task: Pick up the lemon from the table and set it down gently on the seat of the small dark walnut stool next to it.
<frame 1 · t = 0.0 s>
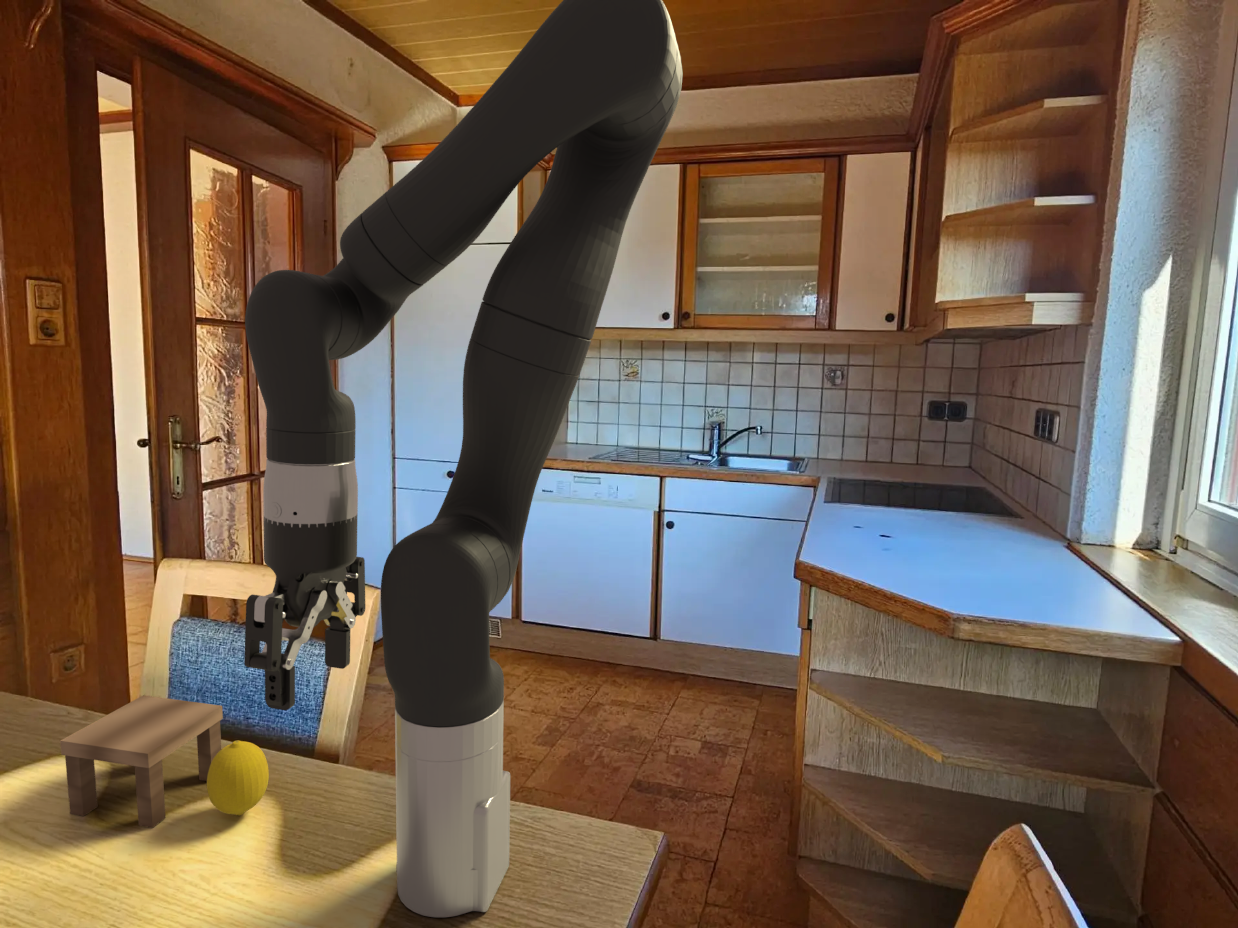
hand: (311, 685, 65), 17 cm above the table, tool pointing down, fingers open, 8 cm apart
lemon: (240, 816, 74), on the table
stool: (150, 792, 77), on the table
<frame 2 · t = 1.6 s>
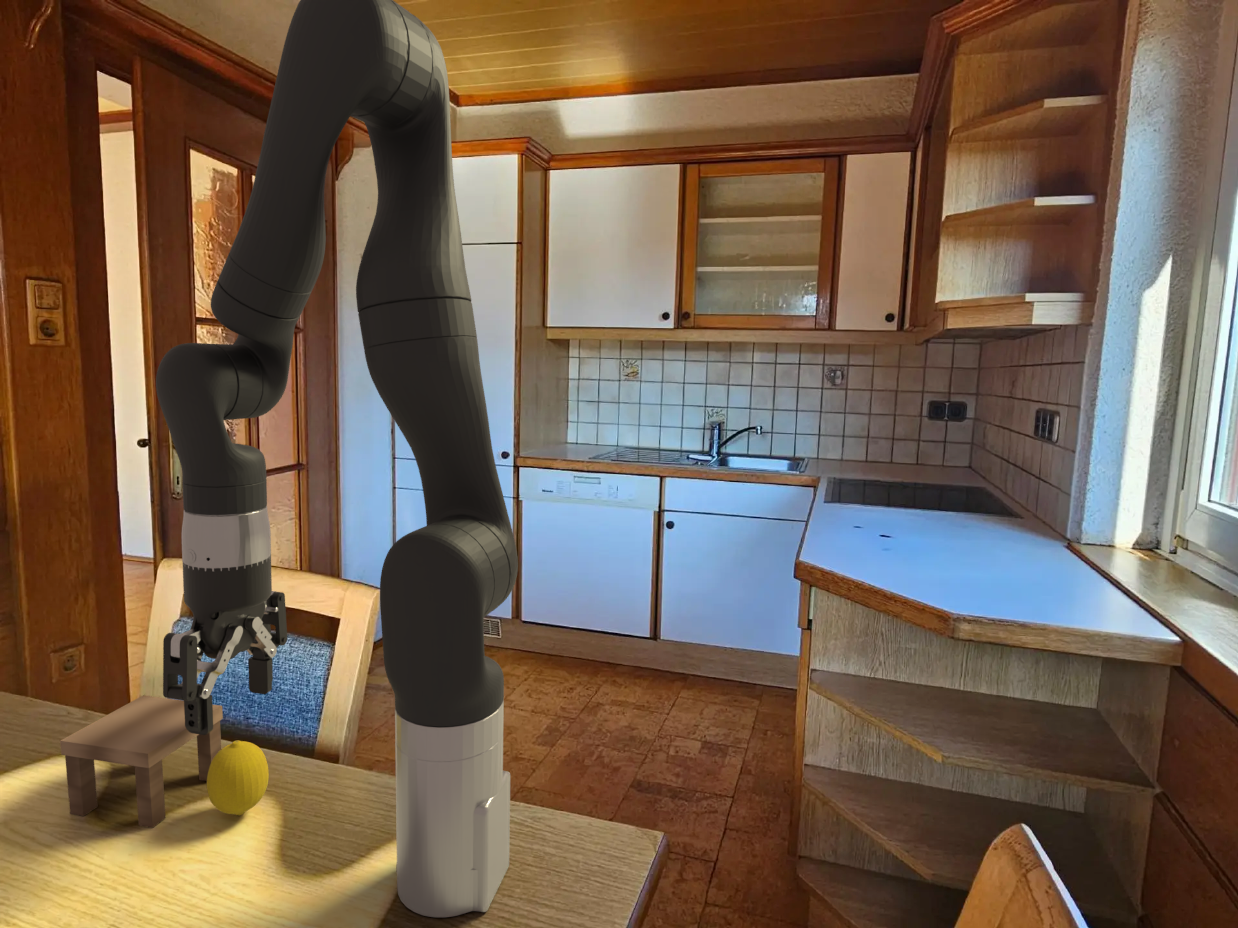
hand: (232, 710, 72), 11 cm above the table, tool pointing down, fingers open, 8 cm apart
nothing on the table moved.
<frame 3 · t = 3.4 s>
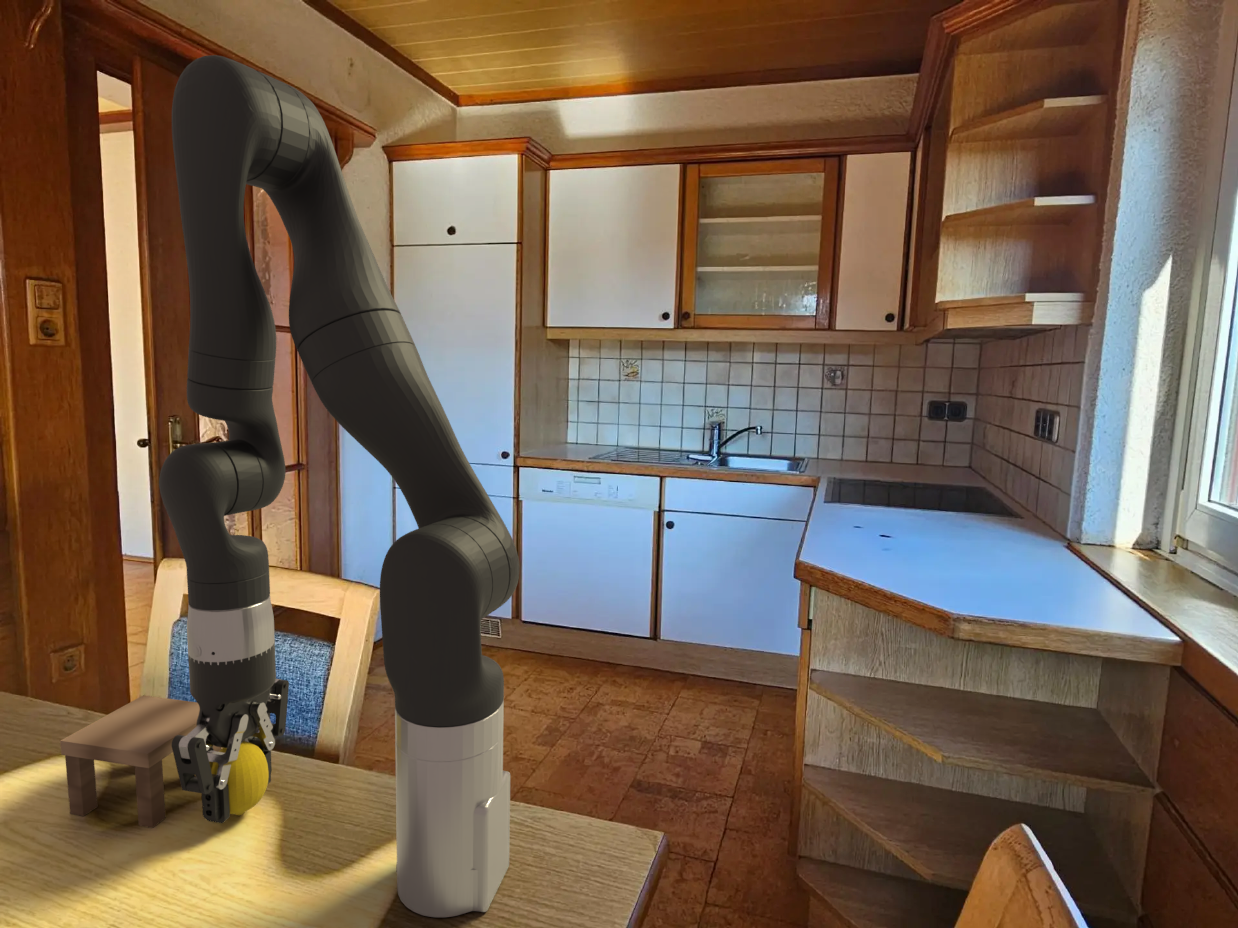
hand: (239, 800, 74), 2 cm above the table, tool pointing down, fingers closed on lemon, 5 cm apart
lemon: (240, 816, 74), on the table, touching gripper
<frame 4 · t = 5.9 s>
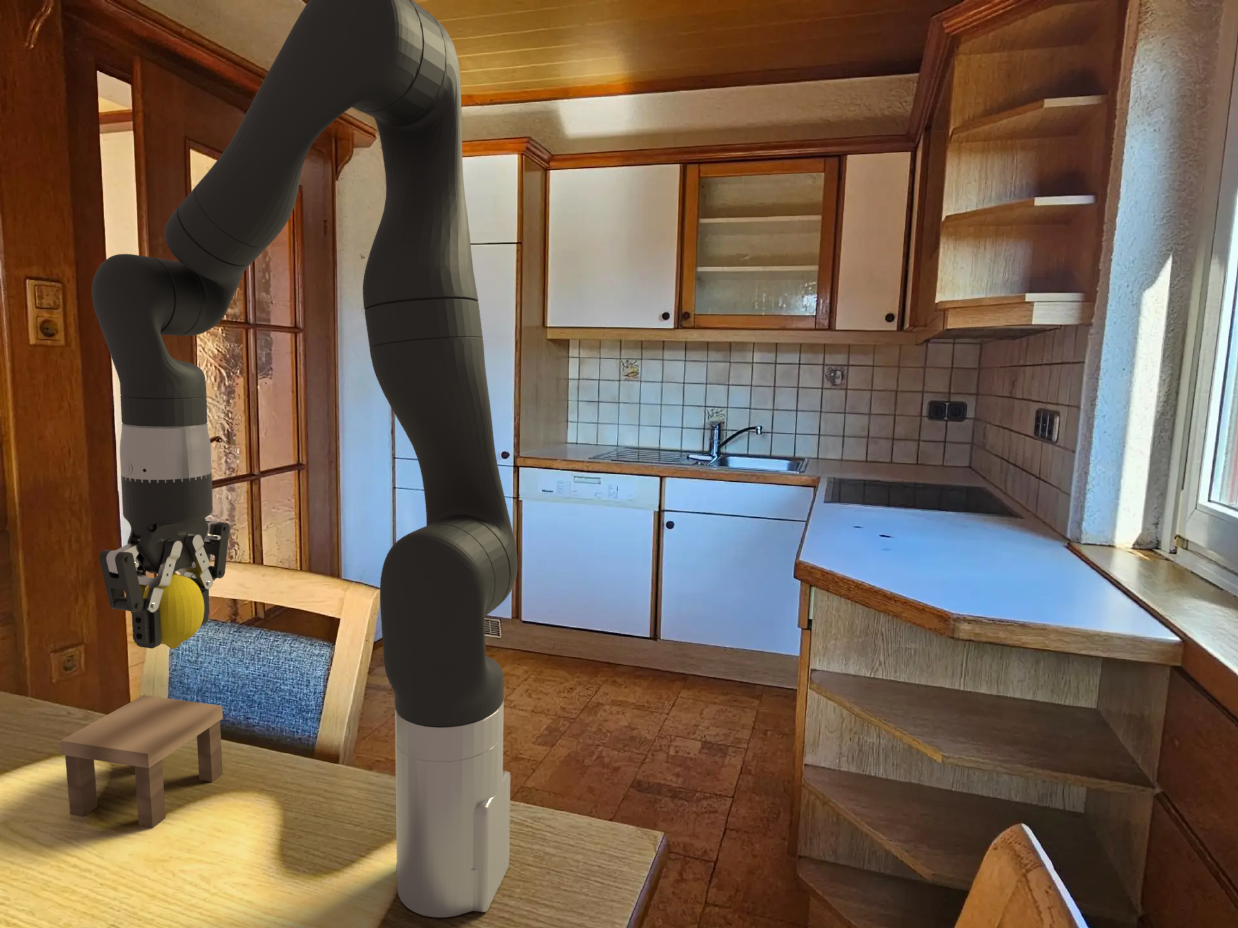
hand: (173, 633, 73), 18 cm above the table, tool pointing down, fingers closed on lemon, 5 cm apart
lemon: (174, 650, 73), point 17 cm above the table, touching gripper
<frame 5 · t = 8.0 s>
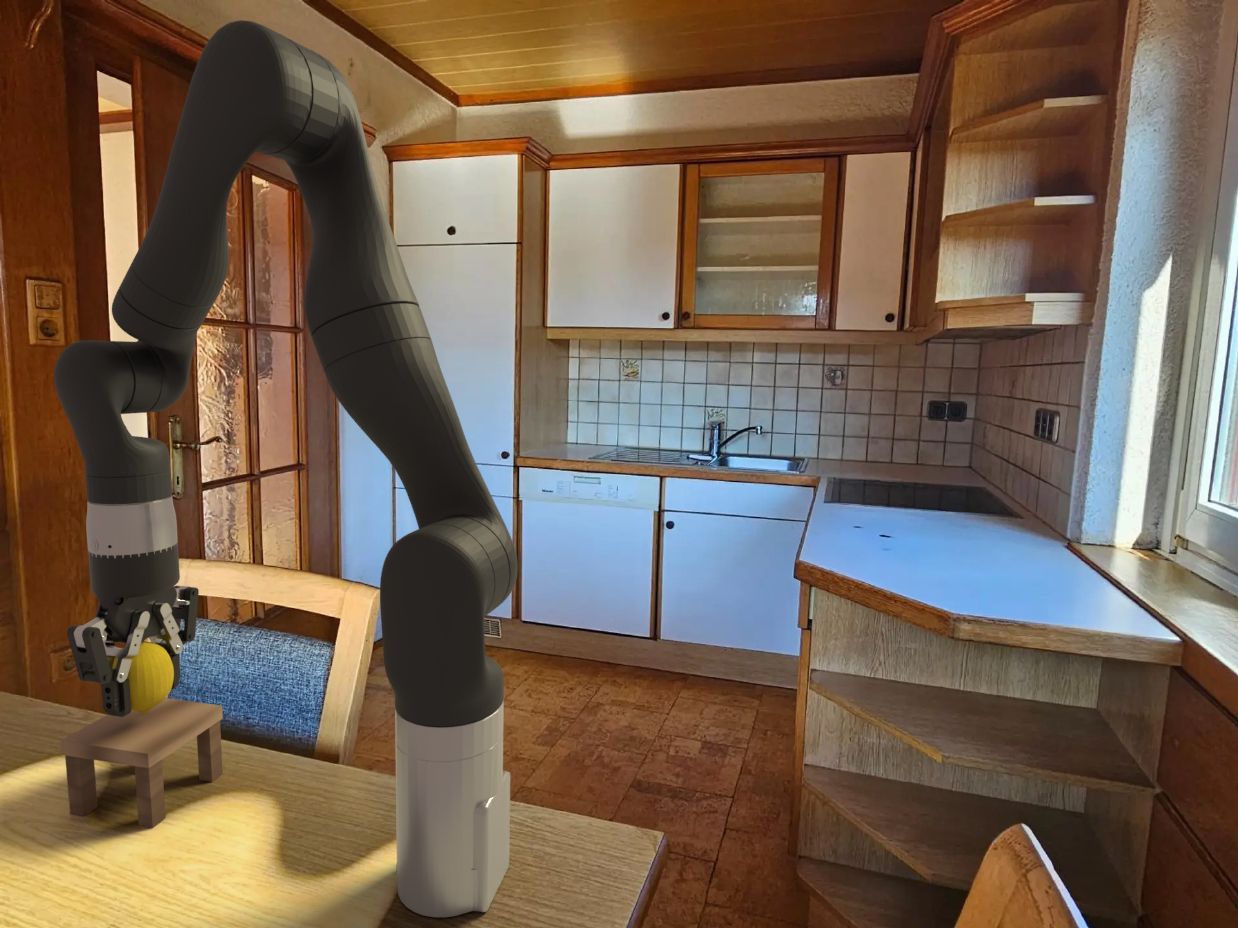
hand: (144, 699, 75), 11 cm above the table, tool pointing down, fingers closed on lemon, 5 cm apart
lemon: (145, 715, 75), point 9 cm above the table, touching gripper
when the fingers open (10 cm above the table, at t = 8.7 s): lemon stays where it is, resting on stool.
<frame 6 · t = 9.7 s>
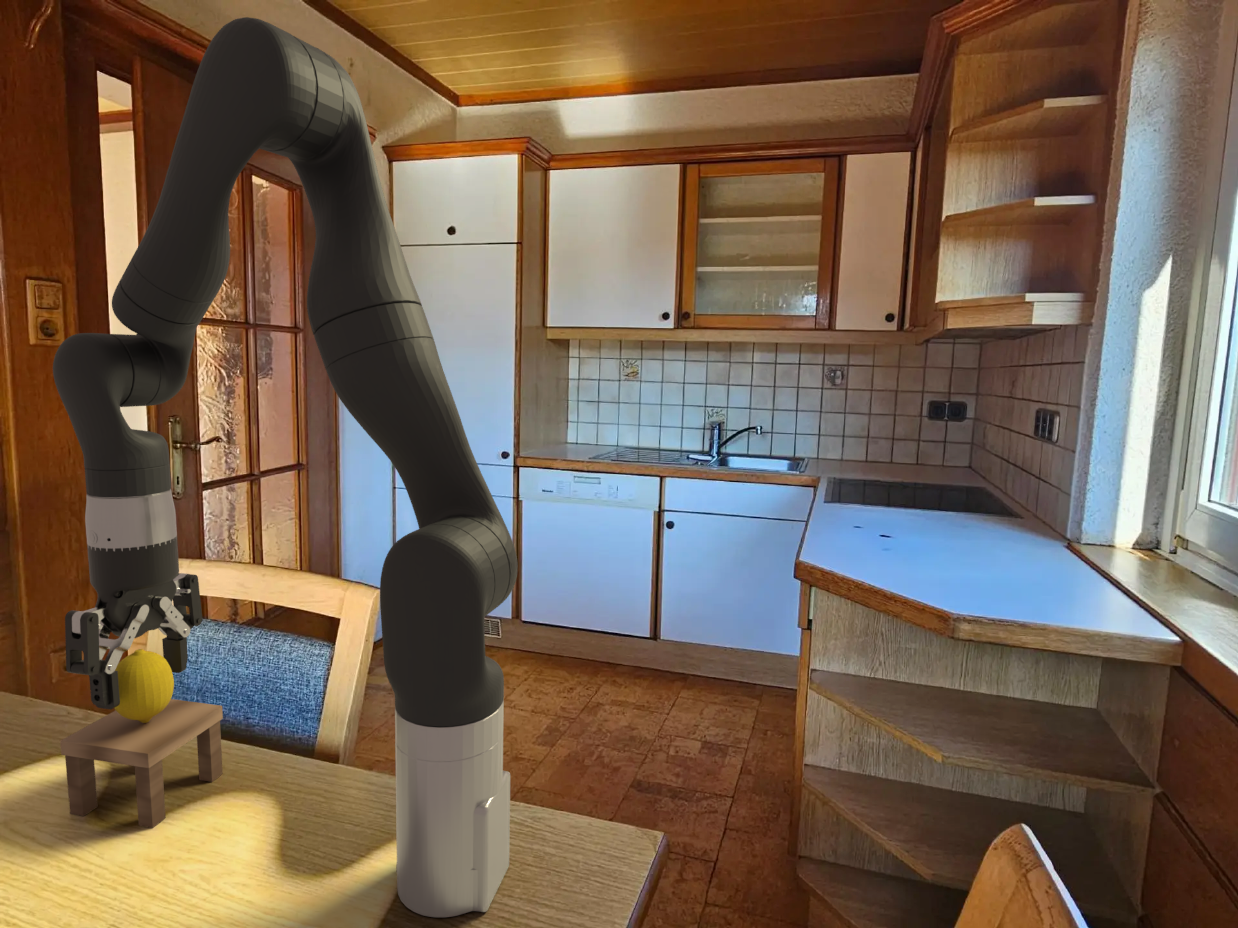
hand: (143, 687, 75), 12 cm above the table, tool pointing down, fingers open, 8 cm apart
lemon: (145, 723, 76), point 8 cm above the table, touching stool
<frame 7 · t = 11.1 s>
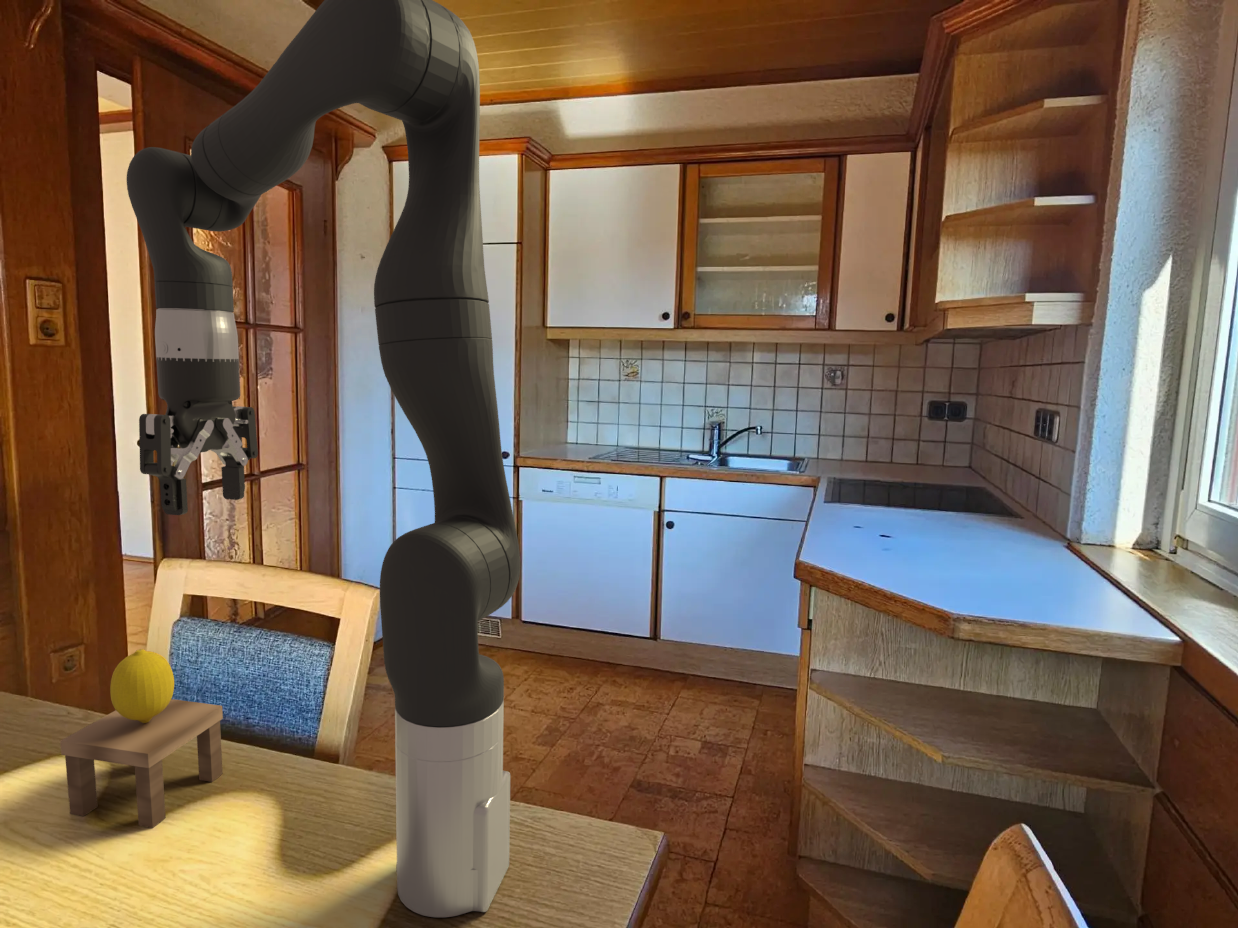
hand: (206, 506, 78), 30 cm above the table, tool pointing down, fingers open, 8 cm apart
nothing on the table moved.
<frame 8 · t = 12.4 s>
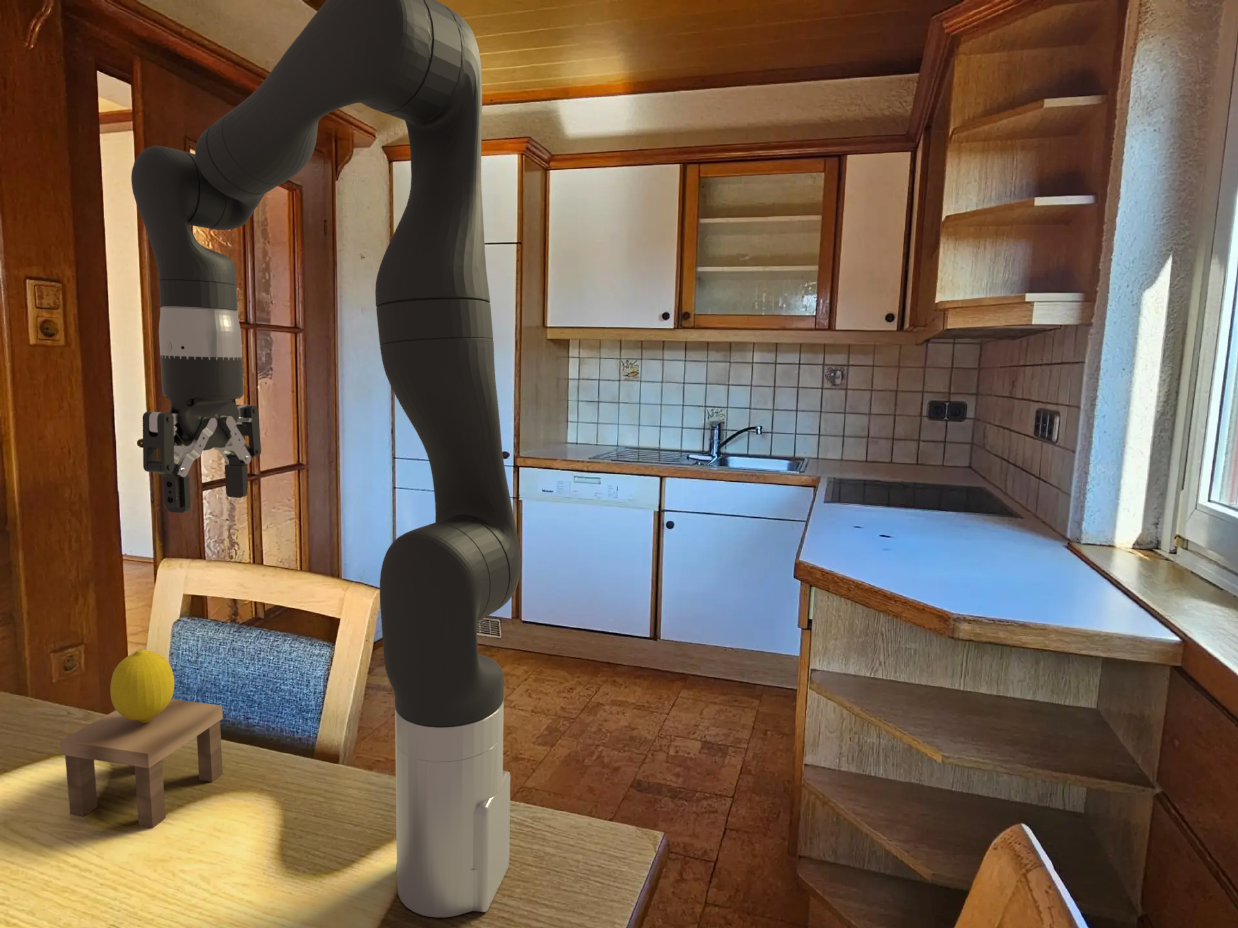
hand: (209, 504, 79), 30 cm above the table, tool pointing down, fingers open, 8 cm apart
nothing on the table moved.
at the end: lemon inside the target area on the stool (0.1 cm from its centre), point 7.8 cm above the stool's base; lemon touching stool; the gripper is holding nothing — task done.
